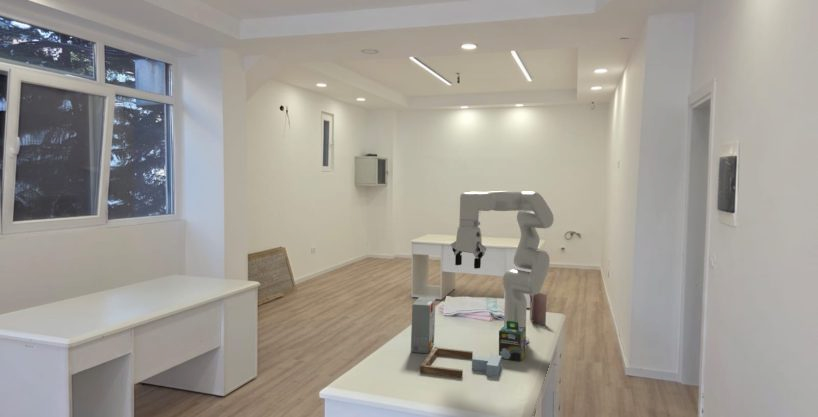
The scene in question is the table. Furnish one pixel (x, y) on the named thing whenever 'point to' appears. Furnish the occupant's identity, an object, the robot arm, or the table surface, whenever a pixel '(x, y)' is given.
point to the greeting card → (538, 308)
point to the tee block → (487, 364)
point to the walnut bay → (443, 371)
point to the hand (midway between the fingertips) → (467, 266)
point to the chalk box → (512, 341)
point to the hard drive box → (423, 325)
